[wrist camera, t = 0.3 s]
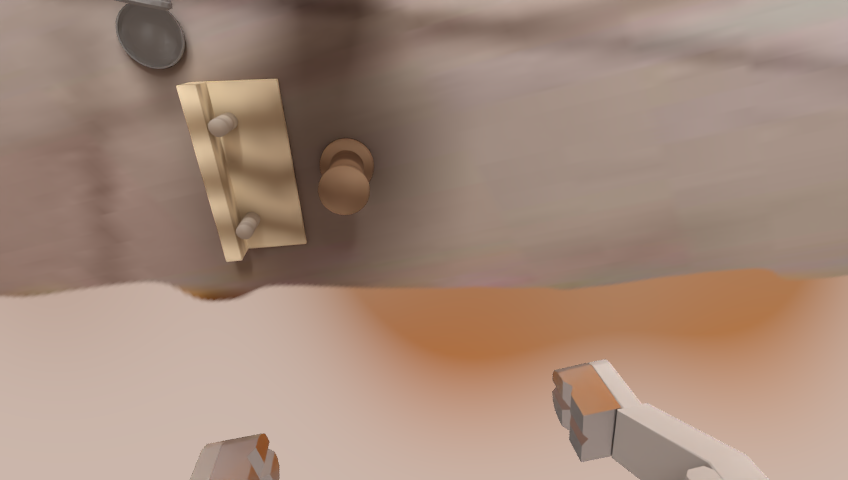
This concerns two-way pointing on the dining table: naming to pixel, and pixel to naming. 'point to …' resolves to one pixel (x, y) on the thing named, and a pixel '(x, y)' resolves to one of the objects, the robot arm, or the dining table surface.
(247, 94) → the peg rack
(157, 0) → the pocket watch
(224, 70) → the dining table surface
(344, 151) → the flanged spool
